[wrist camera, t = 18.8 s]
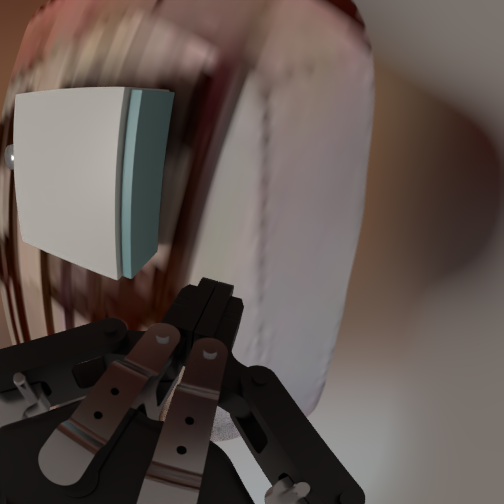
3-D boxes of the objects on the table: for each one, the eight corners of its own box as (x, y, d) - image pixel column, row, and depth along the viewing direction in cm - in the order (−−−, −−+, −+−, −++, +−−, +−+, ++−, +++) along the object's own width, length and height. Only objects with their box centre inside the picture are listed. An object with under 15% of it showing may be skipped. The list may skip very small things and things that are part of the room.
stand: (33, 164, 31) (16, 170, 28) (21, 162, 31) (5, 168, 28) (33, 140, 29) (16, 145, 26) (21, 139, 30) (4, 144, 26)
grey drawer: (157, 251, 32) (131, 278, 27) (63, 221, 33) (33, 240, 28) (174, 92, 23) (142, 90, 18) (64, 90, 24) (28, 94, 19)
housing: (152, 245, 33) (117, 280, 26) (61, 216, 34) (22, 240, 27) (169, 90, 24) (124, 86, 18) (63, 89, 25) (15, 94, 18)
